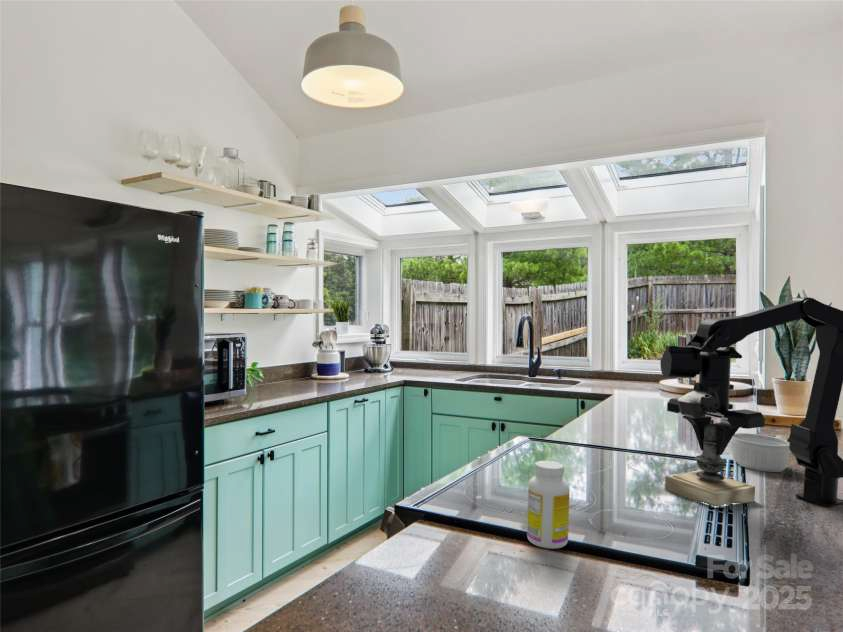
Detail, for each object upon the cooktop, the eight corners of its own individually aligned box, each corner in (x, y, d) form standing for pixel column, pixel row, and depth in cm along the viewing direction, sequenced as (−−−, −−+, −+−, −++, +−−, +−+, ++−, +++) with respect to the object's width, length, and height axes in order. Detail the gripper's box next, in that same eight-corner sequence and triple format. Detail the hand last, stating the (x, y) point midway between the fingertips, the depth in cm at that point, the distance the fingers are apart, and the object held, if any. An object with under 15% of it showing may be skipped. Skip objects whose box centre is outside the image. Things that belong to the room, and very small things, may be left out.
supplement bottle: (569, 536, 93) (572, 461, 93) (566, 553, 87) (569, 472, 87) (529, 530, 96) (532, 456, 95) (523, 546, 89) (526, 467, 89)
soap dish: (702, 483, 125) (702, 468, 125) (754, 501, 114) (755, 485, 114) (665, 489, 119) (665, 474, 119) (716, 509, 109) (716, 492, 109)
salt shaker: (730, 481, 113) (732, 423, 113) (699, 479, 114) (701, 421, 114) (720, 473, 119) (723, 417, 118) (691, 470, 120) (693, 416, 120)
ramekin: (773, 460, 146) (774, 434, 146) (802, 475, 133) (803, 447, 133) (720, 457, 147) (721, 431, 147) (744, 472, 134) (745, 444, 134)
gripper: (650, 374, 121) (648, 445, 121) (731, 387, 104) (727, 469, 104) (685, 372, 126) (682, 440, 126) (768, 384, 109) (764, 463, 109)
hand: (711, 452), depth 116 cm, fingers closed on salt shaker, 3 cm apart
